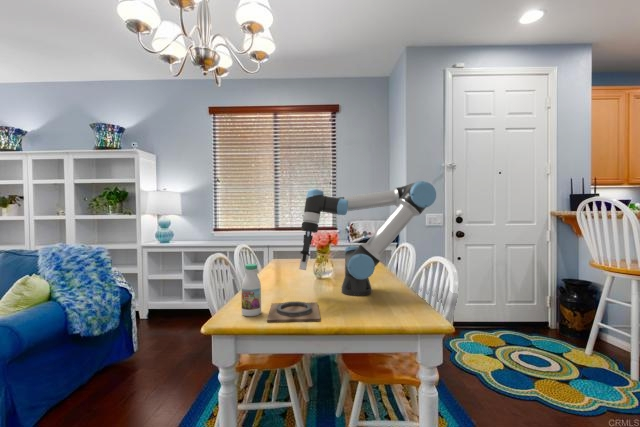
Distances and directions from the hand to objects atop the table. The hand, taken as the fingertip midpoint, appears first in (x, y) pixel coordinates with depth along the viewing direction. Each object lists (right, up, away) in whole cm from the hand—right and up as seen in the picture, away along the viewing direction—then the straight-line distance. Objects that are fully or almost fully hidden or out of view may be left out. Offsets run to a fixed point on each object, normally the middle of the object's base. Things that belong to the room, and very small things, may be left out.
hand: (302, 269), depth 140 cm
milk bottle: (-20, -16, -12) cm, 28 cm away
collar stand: (-3, -16, -11) cm, 19 cm away
